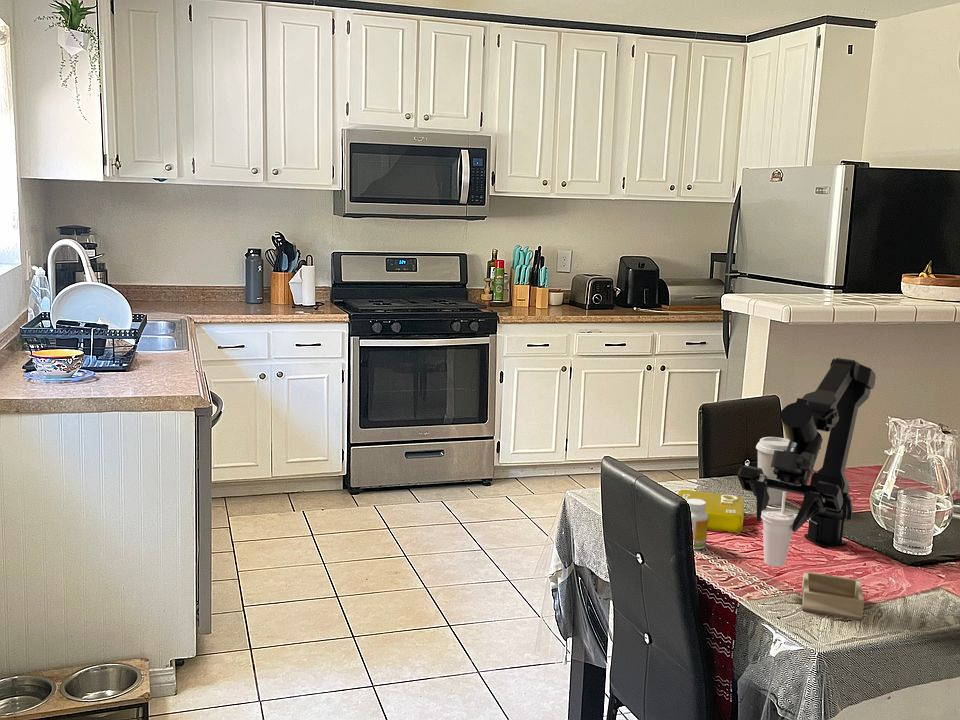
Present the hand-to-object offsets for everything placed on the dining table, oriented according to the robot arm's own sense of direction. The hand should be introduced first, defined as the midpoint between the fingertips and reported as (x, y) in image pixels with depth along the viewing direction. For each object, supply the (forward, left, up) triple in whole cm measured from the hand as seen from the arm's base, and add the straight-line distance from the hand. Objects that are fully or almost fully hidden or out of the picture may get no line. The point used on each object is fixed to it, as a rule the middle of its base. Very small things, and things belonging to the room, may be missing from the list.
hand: (775, 526), depth 171 cm
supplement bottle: (+2, -25, -13) cm, 28 cm away
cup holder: (-9, +6, -13) cm, 17 cm away
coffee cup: (-32, -47, -13) cm, 58 cm away
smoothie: (-1, -1, -8) cm, 8 cm away
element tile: (-10, -39, -14) cm, 42 cm away
